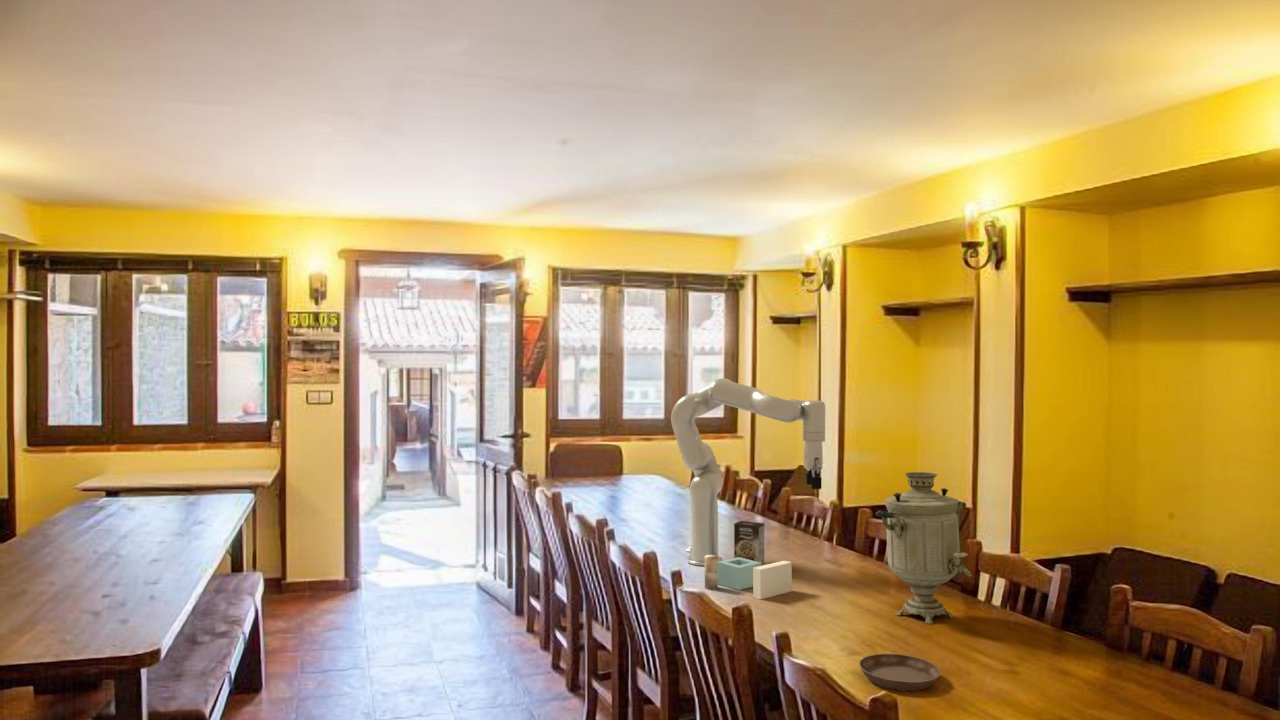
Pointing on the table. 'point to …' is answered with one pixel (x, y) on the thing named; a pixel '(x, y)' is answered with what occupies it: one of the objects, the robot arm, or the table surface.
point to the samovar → (923, 542)
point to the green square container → (736, 573)
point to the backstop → (772, 579)
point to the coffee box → (749, 541)
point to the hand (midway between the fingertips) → (813, 486)
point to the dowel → (710, 572)
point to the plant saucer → (899, 671)
